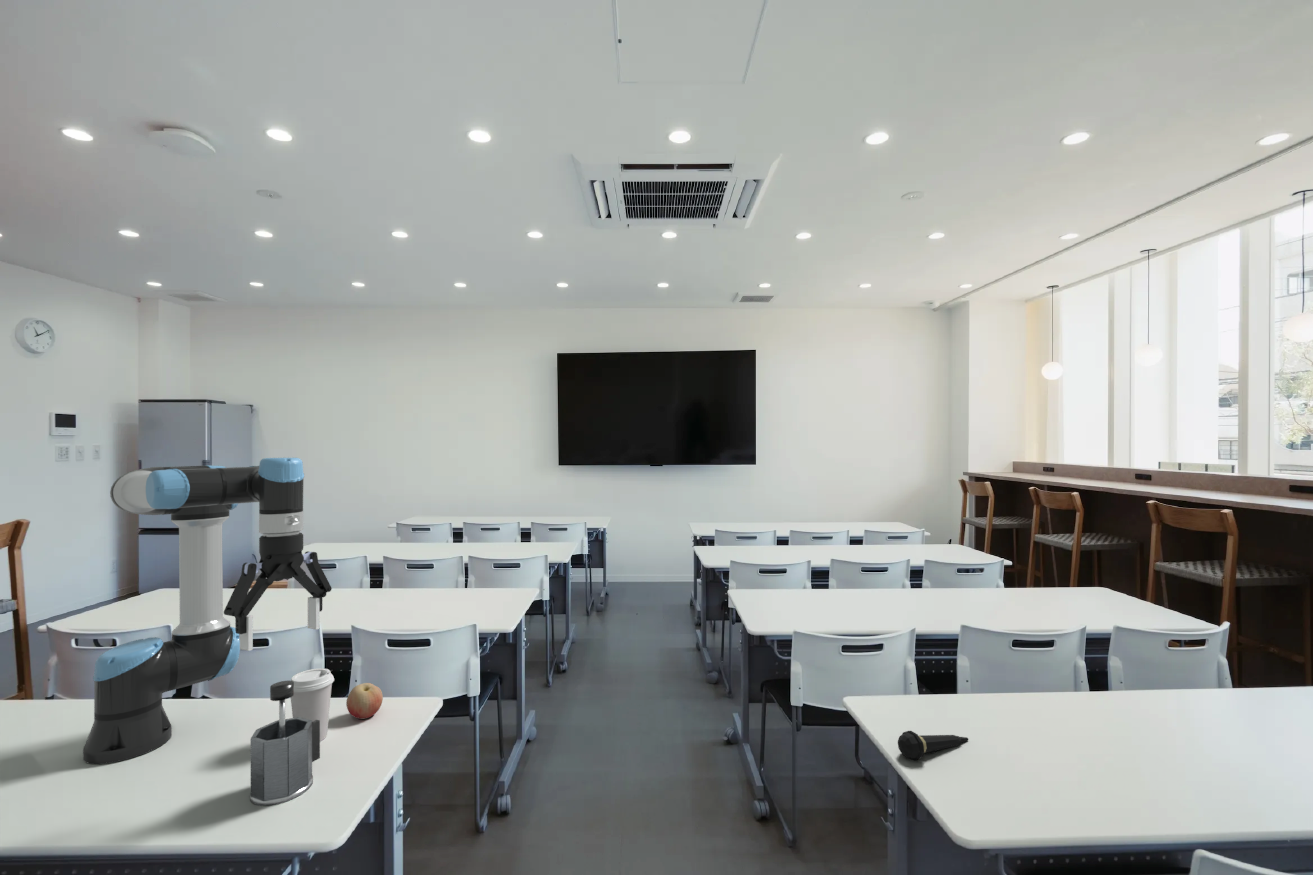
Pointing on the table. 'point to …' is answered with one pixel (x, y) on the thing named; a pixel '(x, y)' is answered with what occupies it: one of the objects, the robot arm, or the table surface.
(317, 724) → the press carafe
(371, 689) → the fruit
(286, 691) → the plunger
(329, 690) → the coffee cup
